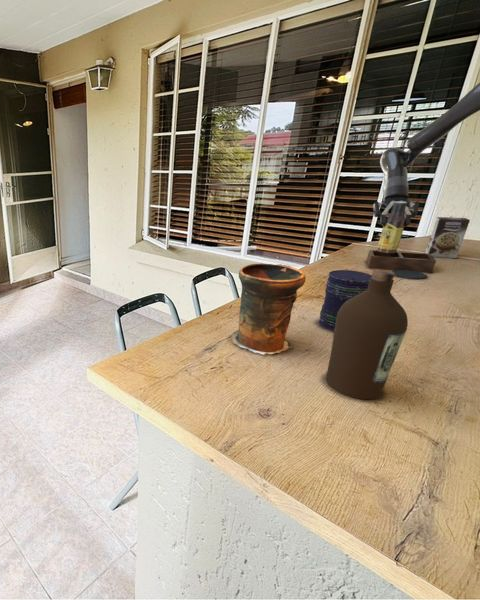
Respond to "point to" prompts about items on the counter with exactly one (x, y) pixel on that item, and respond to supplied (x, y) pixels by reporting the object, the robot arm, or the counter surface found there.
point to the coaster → (409, 274)
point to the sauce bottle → (393, 229)
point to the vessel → (266, 306)
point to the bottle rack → (401, 261)
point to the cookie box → (447, 237)
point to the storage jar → (341, 294)
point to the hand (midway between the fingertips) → (395, 224)
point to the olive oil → (367, 339)
